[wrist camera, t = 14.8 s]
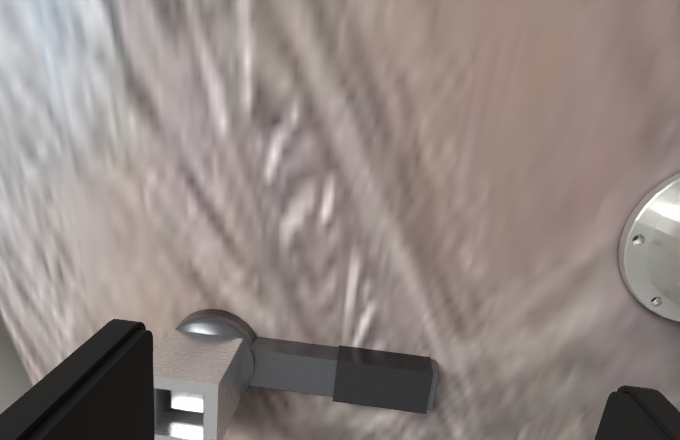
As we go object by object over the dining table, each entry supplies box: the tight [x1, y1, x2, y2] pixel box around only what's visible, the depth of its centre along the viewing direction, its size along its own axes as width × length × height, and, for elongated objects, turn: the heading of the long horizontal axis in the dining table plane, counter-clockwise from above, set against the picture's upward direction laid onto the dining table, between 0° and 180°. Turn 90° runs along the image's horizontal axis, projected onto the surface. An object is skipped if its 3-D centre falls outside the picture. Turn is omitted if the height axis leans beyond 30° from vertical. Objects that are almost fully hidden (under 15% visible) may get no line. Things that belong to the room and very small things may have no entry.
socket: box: [153, 329, 243, 440], centre depth 34 cm, size 6×6×6 cm
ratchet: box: [171, 309, 439, 414], centre depth 36 cm, size 24×8×6 cm, turn 84°
